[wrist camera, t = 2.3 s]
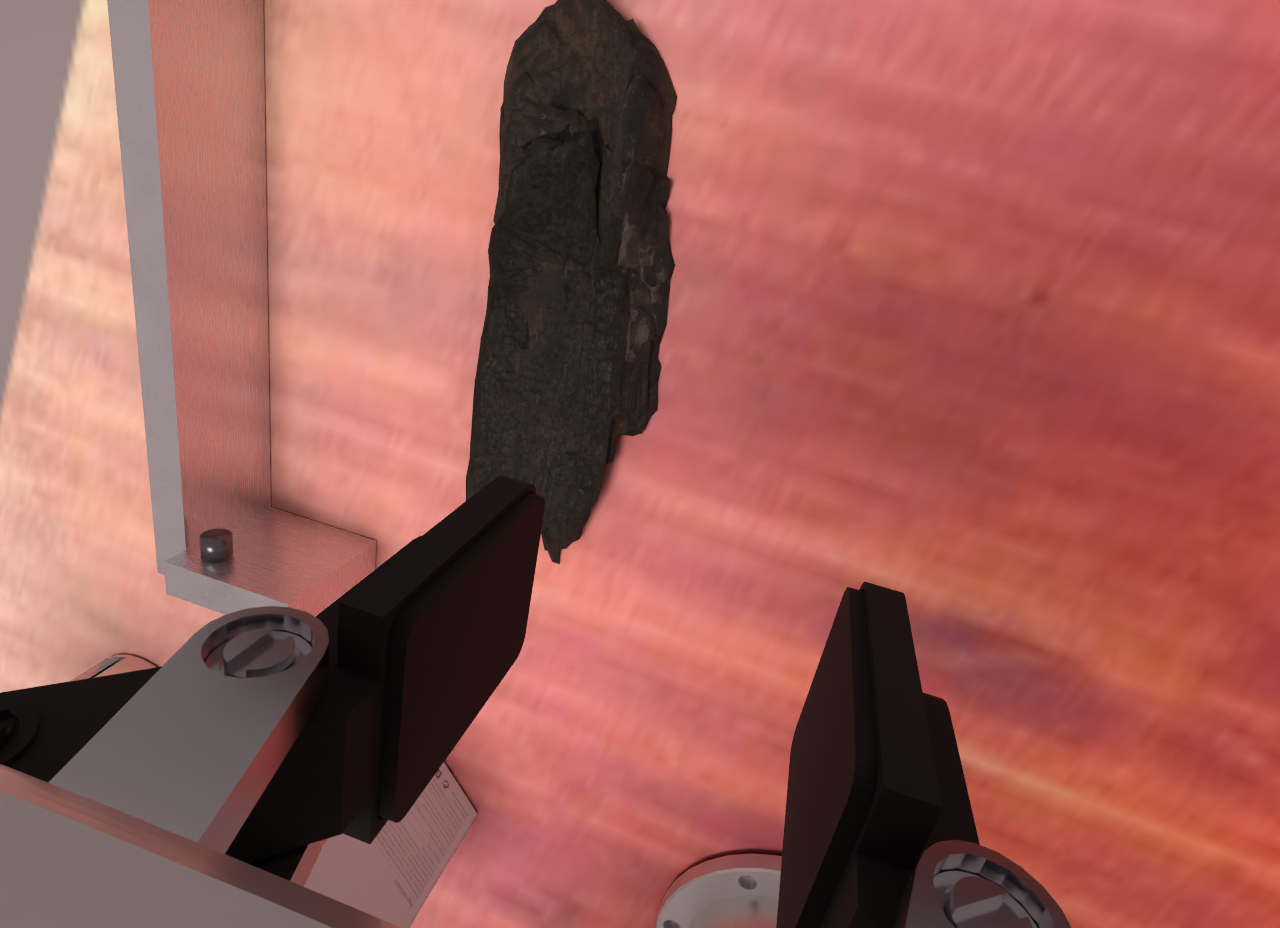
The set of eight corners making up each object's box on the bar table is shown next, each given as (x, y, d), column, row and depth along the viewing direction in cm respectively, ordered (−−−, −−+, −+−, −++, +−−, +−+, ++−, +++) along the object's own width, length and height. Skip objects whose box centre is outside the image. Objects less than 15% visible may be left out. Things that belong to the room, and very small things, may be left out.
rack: (411, -142, 24) (284, -247, 18) (375, 568, 34) (288, 636, 29) (222, -168, 25) (50, -273, 19) (244, 526, 36) (137, 583, 30)
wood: (622, 577, 32) (602, 613, 29) (472, 530, 33) (438, 560, 30) (747, 11, 23) (736, -17, 20) (539, -25, 24) (501, -55, 22)
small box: (421, 720, 37) (227, 960, 25) (481, 813, 38) (322, 1085, 26) (316, 753, 40) (99, 982, 28) (375, 839, 41) (190, 1092, 29)
